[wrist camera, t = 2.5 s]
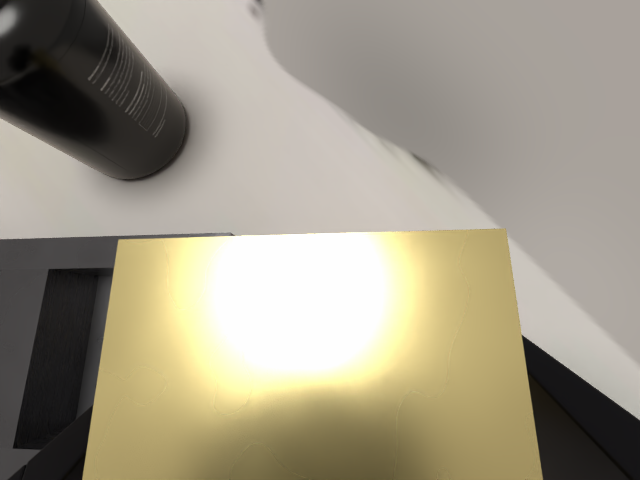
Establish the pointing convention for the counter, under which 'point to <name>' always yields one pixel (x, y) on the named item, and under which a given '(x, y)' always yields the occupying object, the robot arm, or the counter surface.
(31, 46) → the supplement bottle
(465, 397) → the brass block
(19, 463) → the compartment tray
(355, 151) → the counter surface
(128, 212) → the counter surface
